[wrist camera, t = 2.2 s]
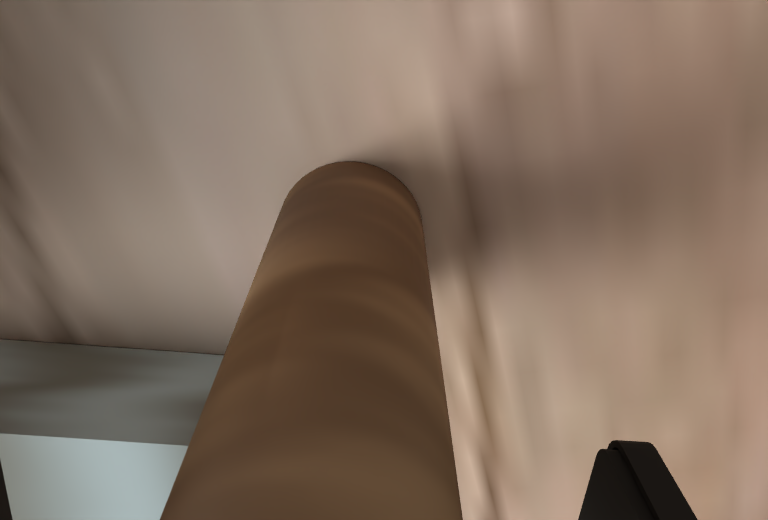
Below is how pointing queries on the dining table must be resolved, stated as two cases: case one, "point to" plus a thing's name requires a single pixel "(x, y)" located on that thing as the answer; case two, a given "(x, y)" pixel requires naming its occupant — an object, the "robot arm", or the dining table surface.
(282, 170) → the dining table surface
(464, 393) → the dining table surface
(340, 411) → the dowel
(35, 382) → the block with square hole
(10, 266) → the dining table surface
